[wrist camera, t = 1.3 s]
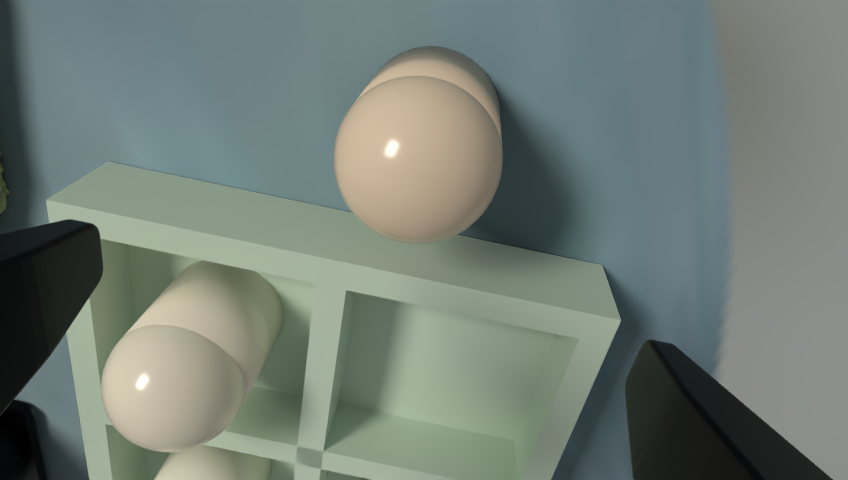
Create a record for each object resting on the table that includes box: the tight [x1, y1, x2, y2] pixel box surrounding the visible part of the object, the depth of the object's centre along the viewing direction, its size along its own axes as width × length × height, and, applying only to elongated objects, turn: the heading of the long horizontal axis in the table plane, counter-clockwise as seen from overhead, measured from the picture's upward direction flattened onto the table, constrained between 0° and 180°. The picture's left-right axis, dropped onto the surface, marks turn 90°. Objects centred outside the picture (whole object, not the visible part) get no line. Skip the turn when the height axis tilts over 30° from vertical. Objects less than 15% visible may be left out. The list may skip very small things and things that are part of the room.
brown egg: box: [334, 46, 503, 244], centre depth 16 cm, size 4×4×6 cm
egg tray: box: [46, 162, 621, 480], centre depth 23 cm, size 18×18×3 cm
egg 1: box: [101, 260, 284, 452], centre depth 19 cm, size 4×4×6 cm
